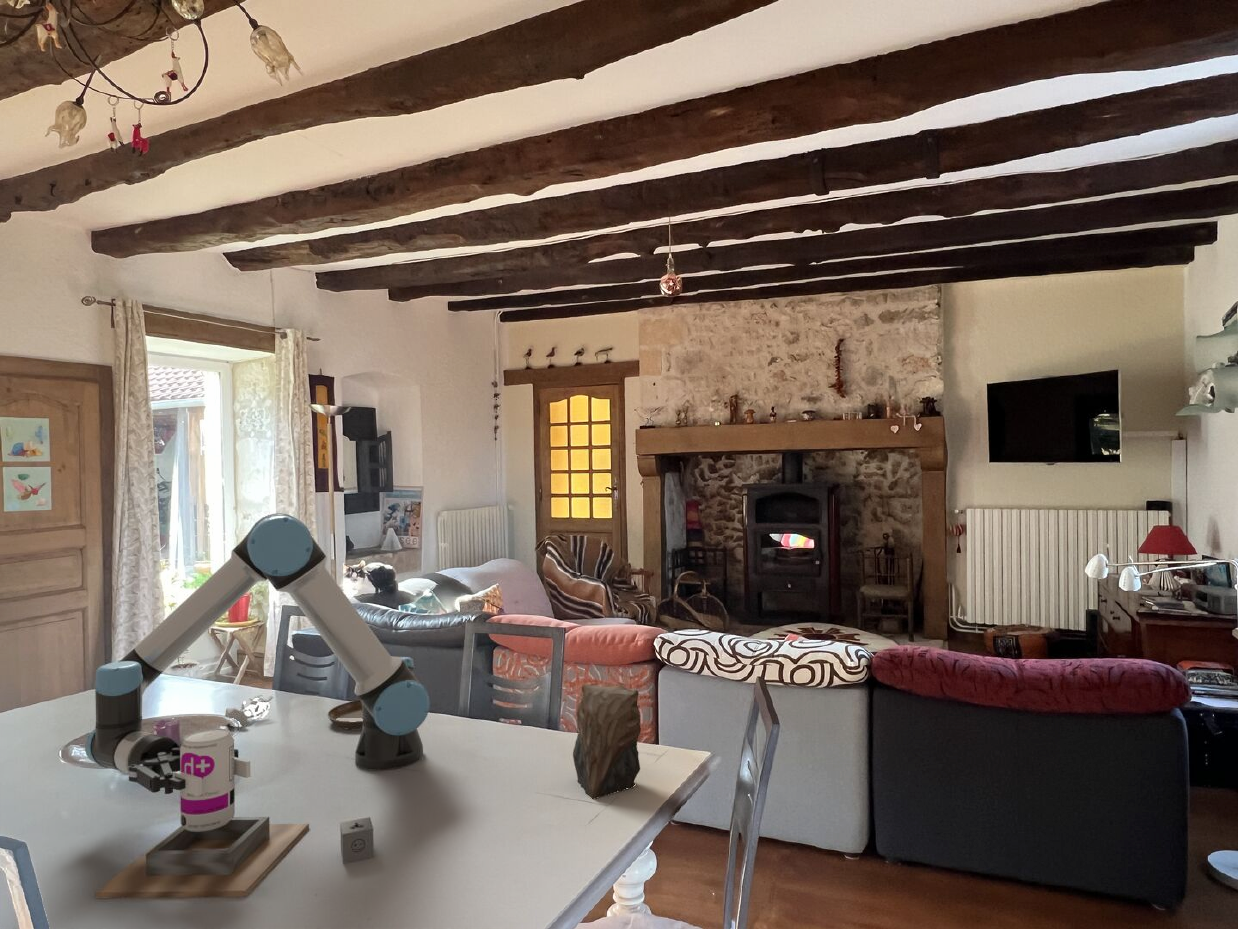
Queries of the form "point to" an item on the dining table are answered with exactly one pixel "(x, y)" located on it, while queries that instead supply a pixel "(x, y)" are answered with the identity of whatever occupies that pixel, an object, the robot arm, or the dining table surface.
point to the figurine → (250, 710)
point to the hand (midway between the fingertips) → (224, 778)
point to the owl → (607, 739)
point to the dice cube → (357, 840)
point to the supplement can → (208, 779)
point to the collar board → (207, 861)
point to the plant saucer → (347, 714)
